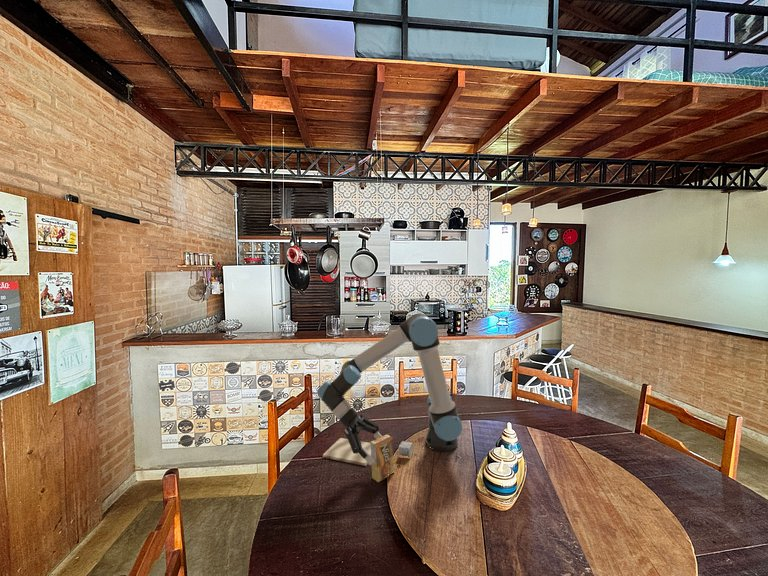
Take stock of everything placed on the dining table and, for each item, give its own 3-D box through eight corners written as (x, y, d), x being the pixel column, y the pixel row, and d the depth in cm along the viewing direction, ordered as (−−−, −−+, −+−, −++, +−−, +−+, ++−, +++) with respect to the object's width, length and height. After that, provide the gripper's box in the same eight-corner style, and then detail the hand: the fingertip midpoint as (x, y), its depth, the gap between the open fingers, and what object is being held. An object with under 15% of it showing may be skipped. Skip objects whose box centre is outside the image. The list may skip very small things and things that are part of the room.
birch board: (380, 447, 155) (380, 444, 155) (365, 465, 140) (365, 463, 140) (340, 440, 164) (340, 437, 164) (322, 457, 149) (322, 454, 149)
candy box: (388, 469, 137) (386, 433, 137) (395, 473, 134) (393, 437, 133) (371, 478, 132) (369, 441, 131) (378, 483, 128) (376, 445, 128)
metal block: (413, 453, 148) (412, 442, 148) (409, 459, 144) (409, 448, 144) (402, 451, 150) (402, 441, 150) (399, 457, 146) (398, 446, 145)
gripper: (354, 407, 150) (385, 443, 145) (324, 432, 127) (360, 476, 122) (363, 397, 148) (395, 433, 143) (334, 420, 125) (372, 465, 120)
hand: (379, 453), depth 133 cm, fingers open, 13 cm apart
